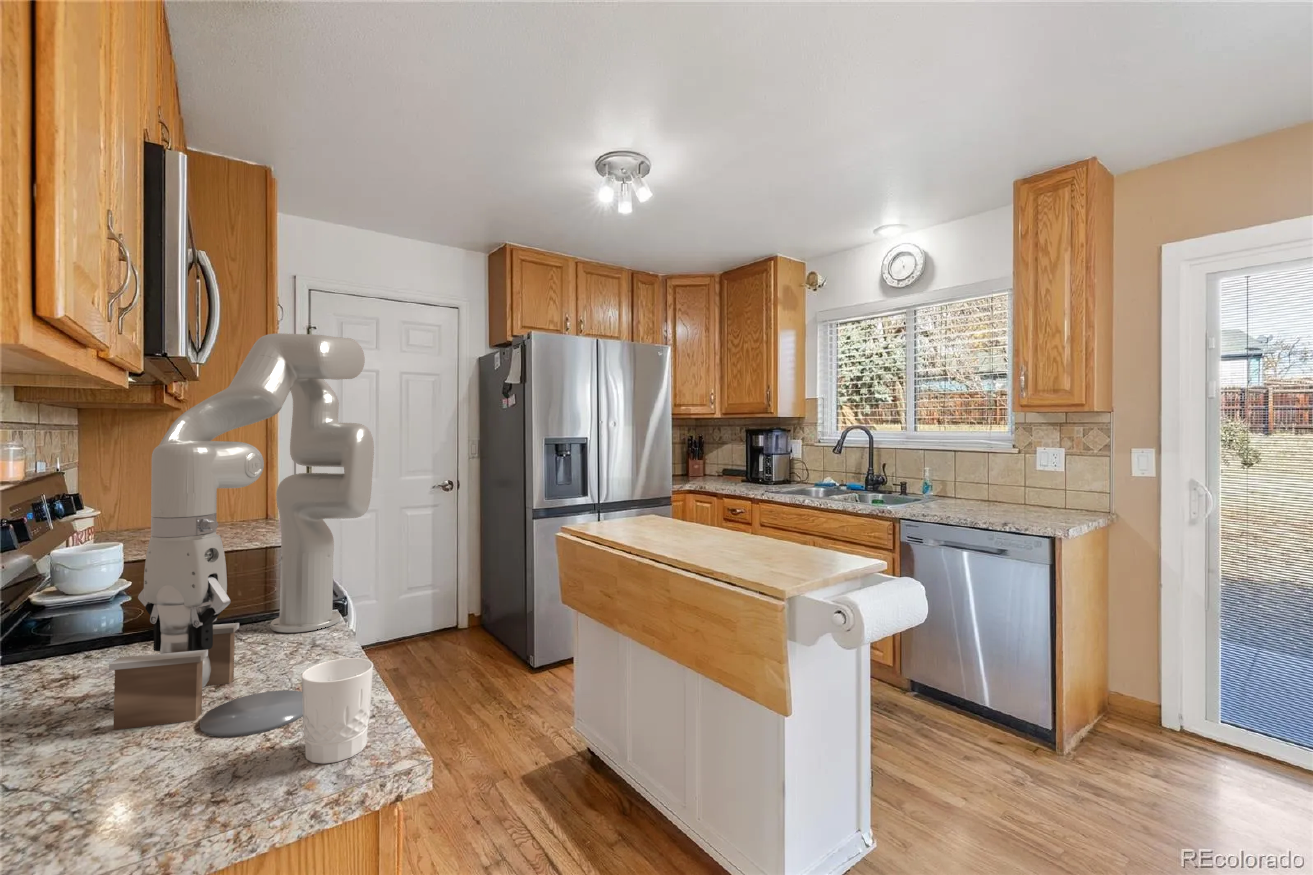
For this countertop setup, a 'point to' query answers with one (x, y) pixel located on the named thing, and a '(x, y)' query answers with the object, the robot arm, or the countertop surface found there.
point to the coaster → (253, 714)
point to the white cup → (336, 708)
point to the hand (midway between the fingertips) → (183, 648)
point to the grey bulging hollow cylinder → (177, 625)
